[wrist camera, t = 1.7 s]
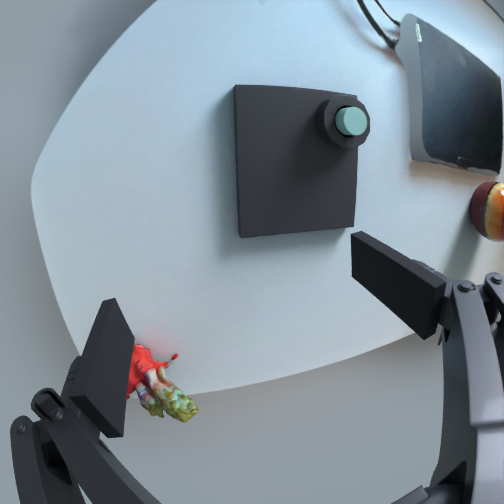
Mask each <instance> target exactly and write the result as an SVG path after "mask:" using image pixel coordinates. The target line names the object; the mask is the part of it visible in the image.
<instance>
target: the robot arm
mask: <svg viewBox="0 0 504 504" xmlns="http://www.w3.org/2000/svg"><path fill="white" fill-rule="evenodd" d="M351 258H352V277H353V278H354V279H355V280H356V281H358V282H359V283H360V284H361V285H362V286H363V287H365V288H366V289H367V290H368V291H369V292H370V293H372V294H373V295H374V296H375V297H376V298H377V299H379V300H380V301H381V302H382V303H383V304H384V305H385V306H387V307H388V308H389V309H390V310H391V311H392V312H393V313H394V314H396V315H397V316H398V317H399V318H400V319H401V320H402V321H403V322H405V323H406V324H407V325H408V326H409V327H410V328H411V329H412V330H413V331H414V332H416V333H417V334H418V335H419V336H420V337H421V338H422V339H423V340H425V339H427V338H428V337H430V336H432V335H433V334H435V332H436V328H437V325H438V323H439V324H440V325H442V326H443V327H442V331H441V334H440V338H439V341H438V345H440V343H441V341H442V349H443V369H444V403H443V405H444V406H443V424H442V437H441V447H440V454H439V460H438V464H437V467H436V468H435V471H434V473H433V476H432V478H431V482H430V487H426V488H423V487H422V485H421V486H419V487H418V488H416V489H415V490H413V491H412V492H410V493H408V494H407V495H405V496H404V497H402V498H400V499H398V500H397V501H395V502H393V503H392V504H504V276H503V275H501V274H499V273H489V274H487V275H486V277H485V281H484V284H481V285H477V286H476V285H475V284H474V283H472V282H470V281H467V280H458V281H455V282H453V281H452V280H450V279H449V278H447V277H446V276H444V275H442V274H441V273H439V272H438V271H435V270H434V269H433V268H431V267H429V266H428V265H426V264H424V263H423V262H420V261H417V260H411V259H410V258H408V257H406V256H405V255H403V254H401V253H399V252H398V251H396V250H394V249H393V248H391V247H389V246H387V245H386V244H384V243H382V242H380V241H379V240H377V239H375V238H373V237H372V236H370V235H368V234H366V233H364V232H363V231H360V232H356V233H353V234H351ZM499 312H500V314H501V320H500V321H499V320H498V319H497V316H498V314H499ZM134 340H135V338H134V336H133V334H132V332H131V330H130V328H129V326H128V324H127V322H126V320H125V318H124V316H123V314H122V312H121V310H120V308H119V305H118V303H117V301H116V299H115V298H112V299H108V300H105V301H103V302H102V304H101V306H100V309H99V311H98V314H97V316H96V319H95V321H94V324H93V326H92V329H91V332H90V334H89V337H88V340H87V342H86V345H85V348H84V351H83V354H82V356H77V357H76V359H75V360H74V361H73V363H72V364H71V366H70V369H69V372H68V373H69V374H68V375H67V378H66V381H65V384H64V387H63V390H62V393H61V396H59V395H58V394H57V393H56V392H55V391H54V390H53V389H52V388H44V389H42V390H40V391H39V392H38V393H37V394H36V395H35V396H34V398H33V399H32V403H31V409H32V410H33V411H34V412H35V413H36V414H37V415H38V416H39V417H40V419H41V420H39V421H37V422H32V421H31V420H30V419H29V418H28V417H27V416H20V417H18V418H16V419H15V420H14V421H13V423H12V425H11V429H10V437H11V449H12V459H13V467H14V473H15V479H16V485H17V490H18V495H19V499H20V504H86V503H85V501H84V498H83V496H82V493H81V491H80V488H79V485H80V486H81V488H82V489H83V491H84V492H85V494H86V495H87V497H88V498H89V499H90V501H91V502H92V504H161V503H160V502H159V501H158V500H157V499H156V498H155V497H153V496H152V495H151V494H150V493H149V492H148V491H147V490H146V489H145V488H144V487H143V486H142V485H141V484H140V483H139V482H138V481H137V480H136V479H135V478H134V477H133V476H132V475H131V474H130V472H129V471H128V470H127V469H126V468H125V467H124V466H123V465H122V464H121V463H120V461H119V460H118V459H117V458H116V457H115V456H114V455H113V453H112V452H111V451H110V450H109V449H108V447H107V446H106V445H105V444H104V442H103V441H102V440H100V438H99V435H100V431H101V432H102V433H103V434H104V435H105V436H106V437H107V438H116V437H123V434H124V420H125V409H126V399H127V390H128V381H129V374H130V366H131V359H132V353H133V346H134ZM77 482H78V483H77ZM78 484H79V485H78Z"/></svg>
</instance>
